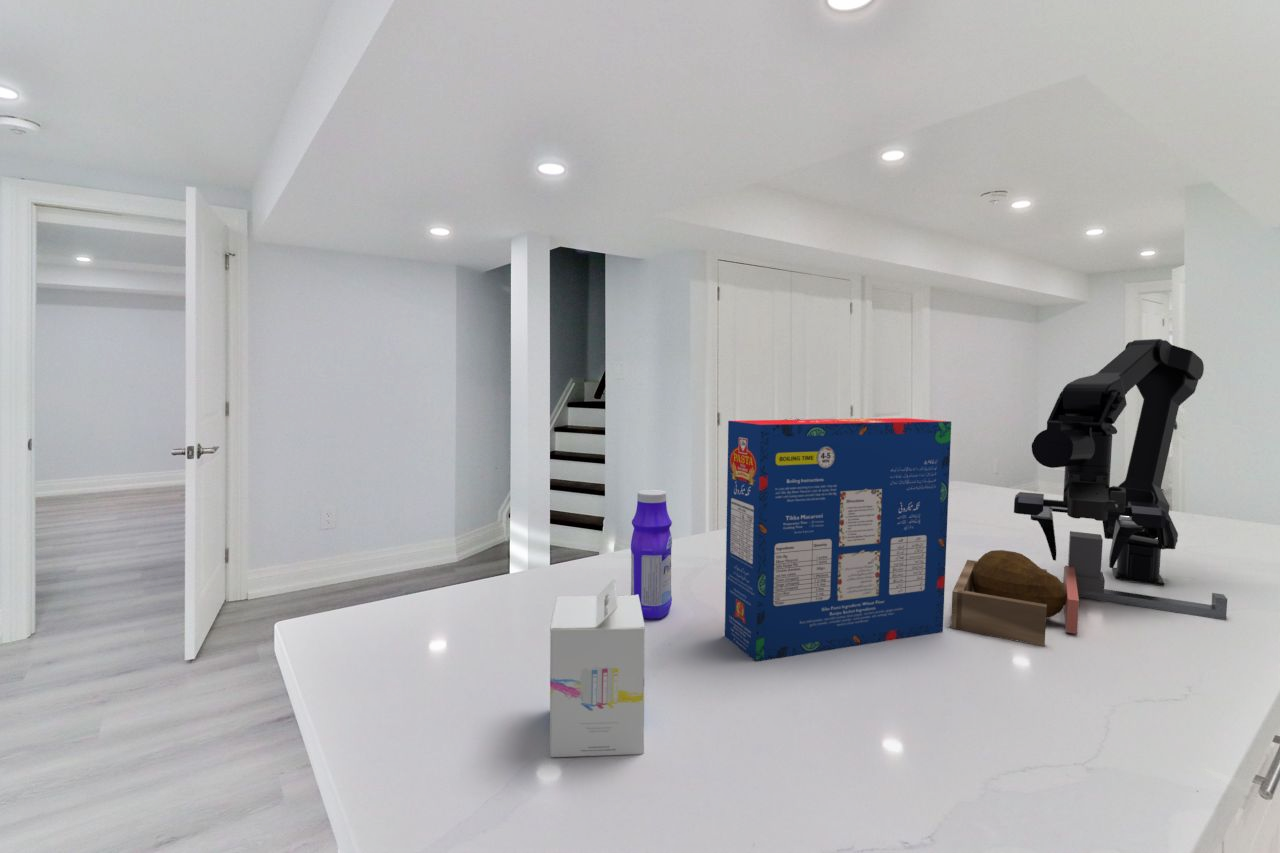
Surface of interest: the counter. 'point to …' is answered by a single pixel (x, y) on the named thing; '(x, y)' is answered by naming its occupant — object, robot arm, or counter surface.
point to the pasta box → (834, 533)
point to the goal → (996, 613)
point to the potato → (1018, 580)
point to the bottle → (651, 554)
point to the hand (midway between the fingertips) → (1082, 563)
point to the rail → (1163, 602)
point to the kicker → (1082, 573)
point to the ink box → (597, 675)
